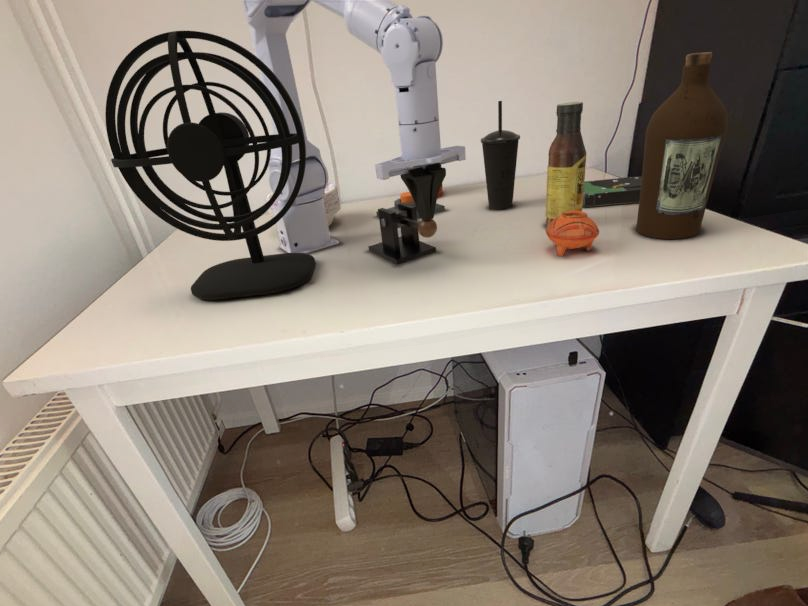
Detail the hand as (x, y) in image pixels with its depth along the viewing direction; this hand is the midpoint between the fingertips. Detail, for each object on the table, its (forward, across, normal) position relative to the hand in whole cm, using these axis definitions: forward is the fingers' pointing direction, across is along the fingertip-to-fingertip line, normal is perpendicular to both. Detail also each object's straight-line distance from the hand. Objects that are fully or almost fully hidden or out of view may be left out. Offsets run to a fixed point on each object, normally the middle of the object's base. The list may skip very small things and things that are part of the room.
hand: (426, 218), depth 75 cm
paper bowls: (+8, -6, +38) cm, 39 cm away
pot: (+8, +19, -12) cm, 24 cm away
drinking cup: (+8, +29, +16) cm, 34 cm away
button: (+5, +14, +28) cm, 32 cm away
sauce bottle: (+8, +28, -2) cm, 29 cm away
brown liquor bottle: (+8, +36, -17) cm, 41 cm away
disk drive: (+8, +47, +2) cm, 48 cm away
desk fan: (+8, -25, +16) cm, 31 cm away
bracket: (+8, 0, +9) cm, 12 cm away
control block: (+8, +14, +28) cm, 32 cm away
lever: (+3, 0, +4) cm, 5 cm away
